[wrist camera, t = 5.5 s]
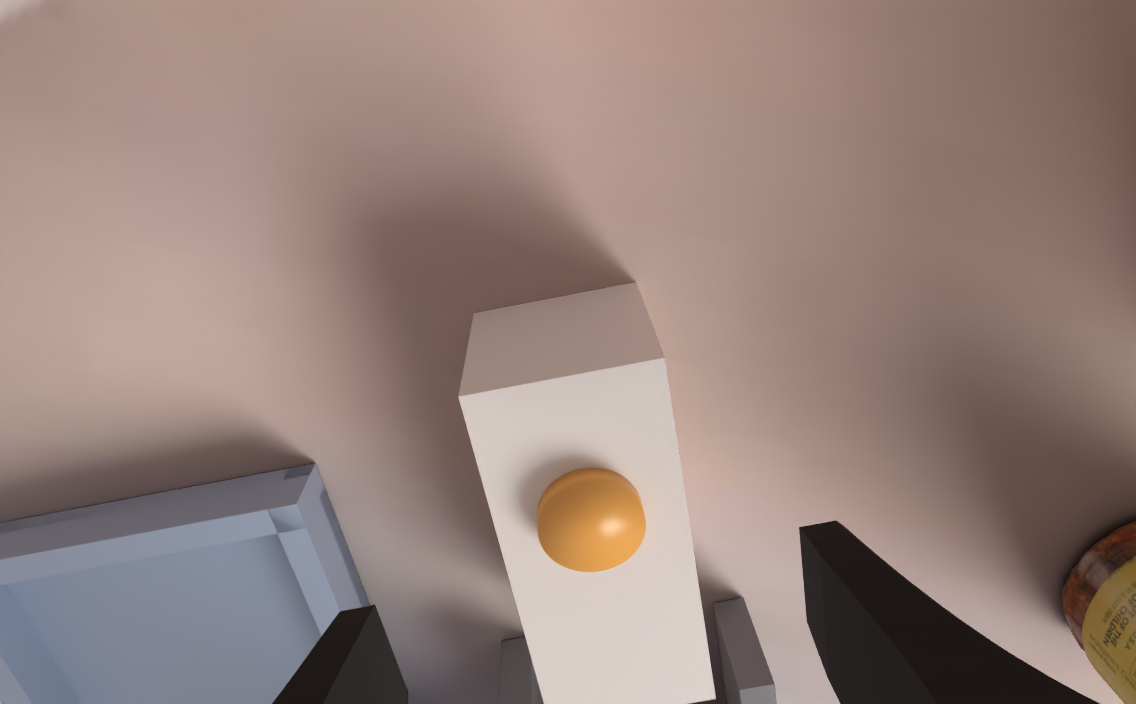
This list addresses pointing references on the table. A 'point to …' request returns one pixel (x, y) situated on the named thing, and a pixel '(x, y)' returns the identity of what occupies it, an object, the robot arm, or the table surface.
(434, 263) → the table surface
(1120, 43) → the table surface
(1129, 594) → the sauce bottle
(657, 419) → the white block with knob
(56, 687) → the tray
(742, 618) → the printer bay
